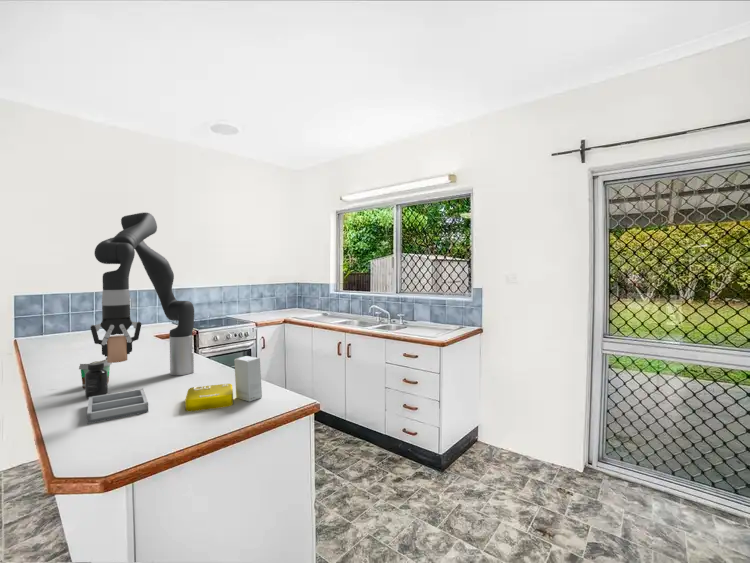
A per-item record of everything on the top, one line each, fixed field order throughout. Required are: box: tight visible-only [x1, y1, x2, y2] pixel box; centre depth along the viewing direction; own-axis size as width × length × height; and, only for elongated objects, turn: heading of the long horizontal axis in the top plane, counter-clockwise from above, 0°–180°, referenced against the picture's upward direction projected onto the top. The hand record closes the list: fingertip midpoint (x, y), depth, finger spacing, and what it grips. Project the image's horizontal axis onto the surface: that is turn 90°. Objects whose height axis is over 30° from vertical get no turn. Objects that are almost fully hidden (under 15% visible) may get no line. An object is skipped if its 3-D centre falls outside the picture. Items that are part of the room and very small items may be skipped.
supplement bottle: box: [84, 362, 109, 399], centre depth 139 cm, size 7×7×12 cm
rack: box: [86, 388, 149, 425], centre depth 125 cm, size 16×19×3 cm
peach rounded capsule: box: [106, 334, 128, 364], centre depth 121 cm, size 6×6×8 cm
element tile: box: [184, 383, 234, 412], centre depth 132 cm, size 15×15×5 cm
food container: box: [78, 357, 113, 389], centre depth 152 cm, size 12×6×10 cm, turn 168°
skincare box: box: [233, 355, 263, 402], centre depth 136 cm, size 8×6×15 cm
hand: (117, 354), depth 121 cm, fingers closed on peach rounded capsule, 5 cm apart
